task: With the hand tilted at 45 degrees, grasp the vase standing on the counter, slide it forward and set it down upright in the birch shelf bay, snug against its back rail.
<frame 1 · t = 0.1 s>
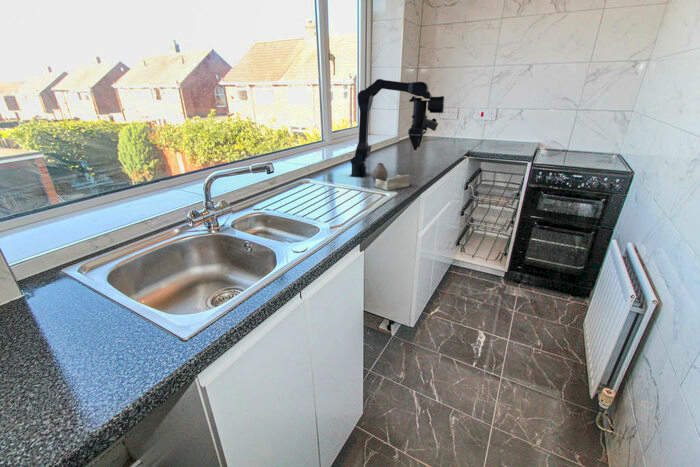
hand: (416, 148, 152), 15 cm above the worktop, tool pointing down, fingers open, 9 cm apart
shoe shelf: (390, 185, 149), on the worktop
vase: (379, 182, 154), on the worktop
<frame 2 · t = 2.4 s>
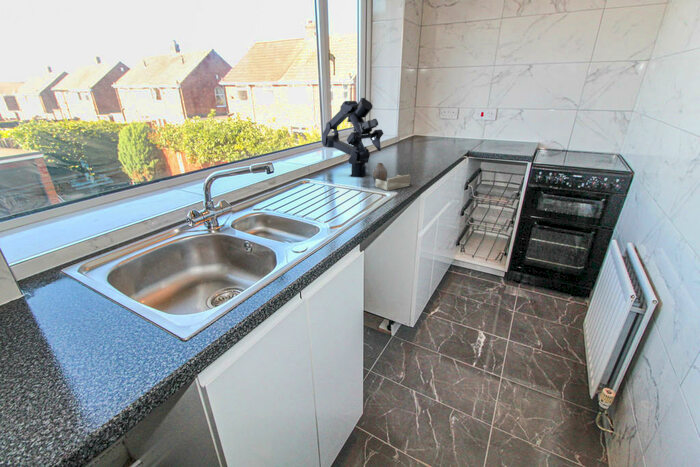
hand: (373, 151, 154), 13 cm above the worktop, tool tilted 40°, fingers open, 9 cm apart
nothing on the worktop moved.
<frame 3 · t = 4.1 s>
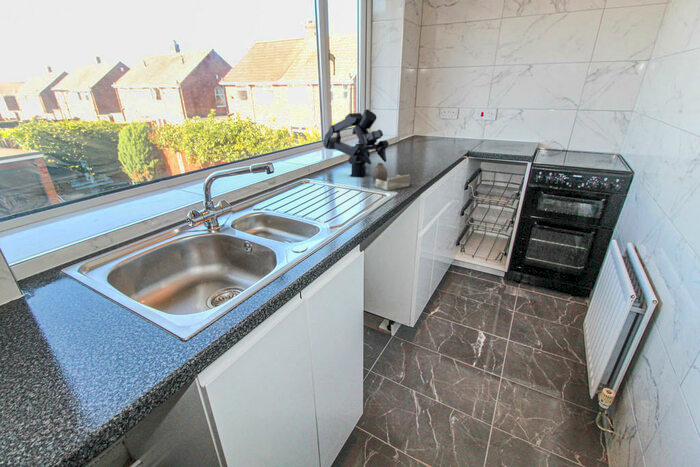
hand: (378, 162, 152), 9 cm above the worktop, tool tilted 45°, fingers open, 9 cm apart
nothing on the worktop moved.
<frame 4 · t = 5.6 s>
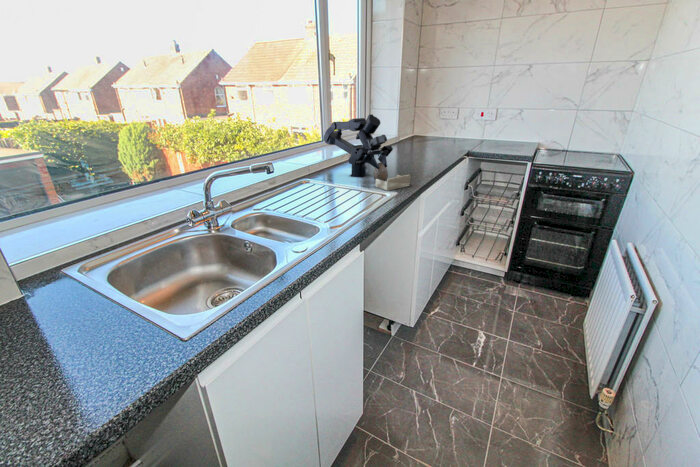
hand: (382, 167, 150), 7 cm above the worktop, tool tilted 45°, fingers closed on vase, 4 cm apart
vase: (380, 182, 154), on the worktop, touching gripper
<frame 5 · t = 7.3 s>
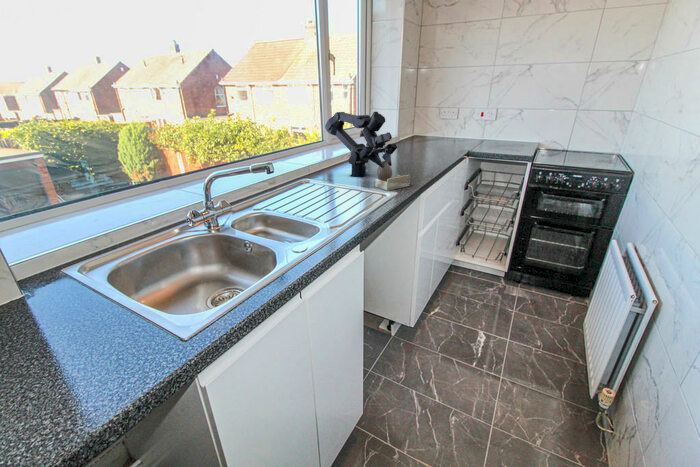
hand: (386, 166, 148), 8 cm above the worktop, tool tilted 45°, fingers closed on vase, 4 cm apart
vase: (384, 180, 152), point 1 cm above the worktop, touching gripper
when the fingers open (7 cm above the worktop, at t = 9.0 s): vase stays where it is, resting on shoe shelf.
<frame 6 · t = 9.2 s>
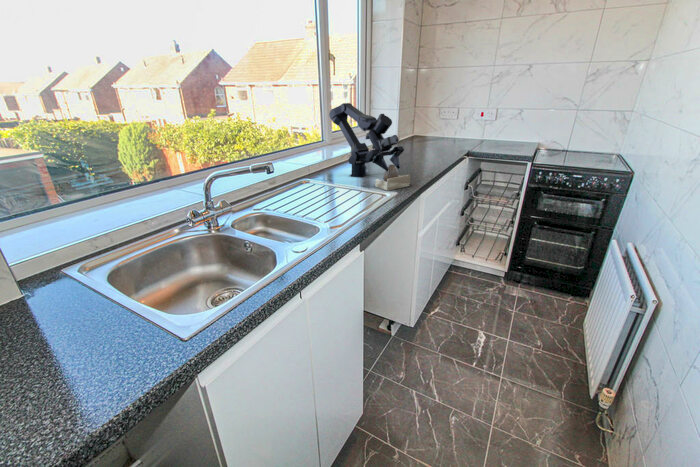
hand: (393, 169, 145), 8 cm above the worktop, tool tilted 45°, fingers open, 6 cm apart
vase: (390, 184, 149), resting on shoe shelf
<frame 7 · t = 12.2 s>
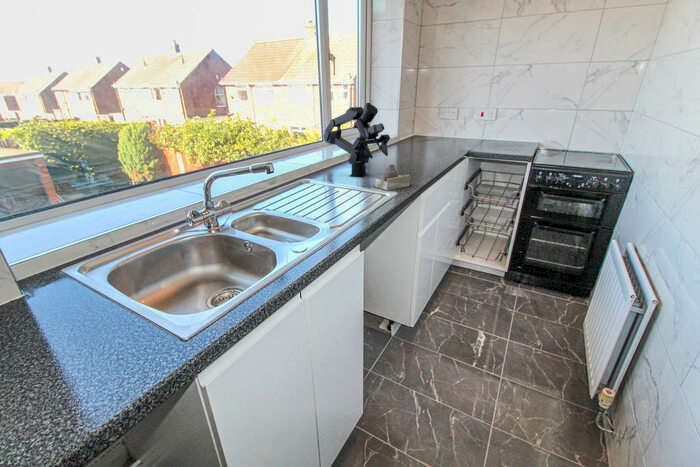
hand: (379, 156, 150), 12 cm above the worktop, tool tilted 45°, fingers open, 9 cm apart
nothing on the worktop moved.
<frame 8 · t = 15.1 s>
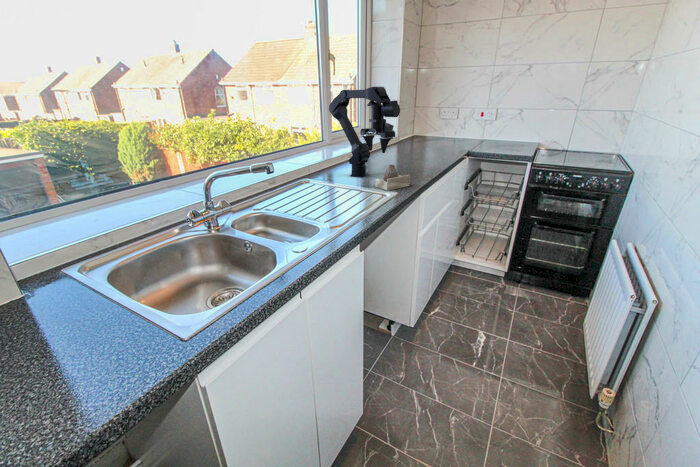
hand: (377, 151, 155), 13 cm above the worktop, tool pointing down, fingers open, 9 cm apart
nothing on the worktop moved.
at the end: vase 0.6 cm off-centre on the shoe shelf, point 0.2 cm above the shoe shelf's base; vase tilted 0°; the gripper is holding nothing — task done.
